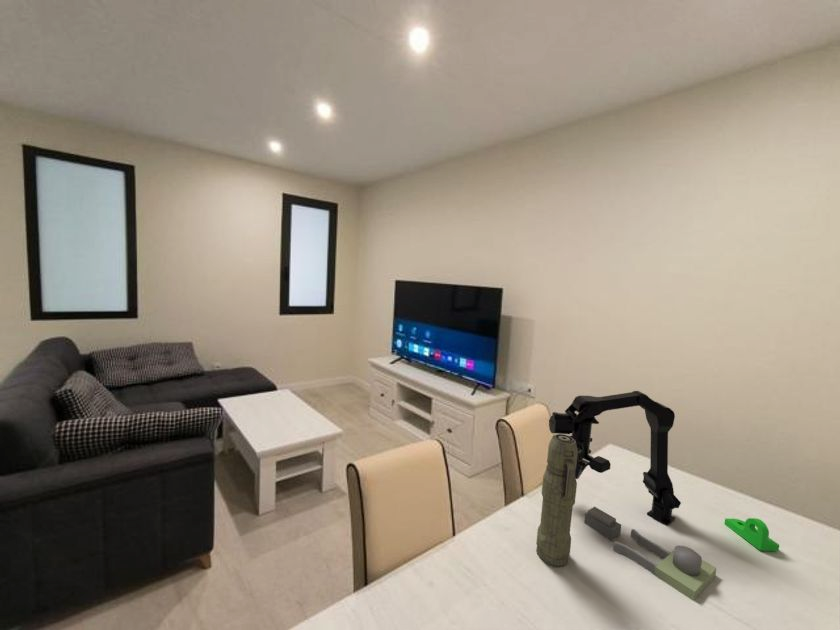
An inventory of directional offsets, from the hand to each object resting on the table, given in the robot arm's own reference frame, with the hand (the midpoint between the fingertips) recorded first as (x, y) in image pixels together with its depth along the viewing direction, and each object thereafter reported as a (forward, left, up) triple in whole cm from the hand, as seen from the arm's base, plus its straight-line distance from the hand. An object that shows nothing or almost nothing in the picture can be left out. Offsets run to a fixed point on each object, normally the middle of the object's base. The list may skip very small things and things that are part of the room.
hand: (576, 478), depth 121 cm
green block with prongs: (0, +32, -12) cm, 34 cm away
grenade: (+24, +9, -12) cm, 29 cm away
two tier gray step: (0, +10, -12) cm, 16 cm away
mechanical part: (-41, +36, -12) cm, 56 cm away
